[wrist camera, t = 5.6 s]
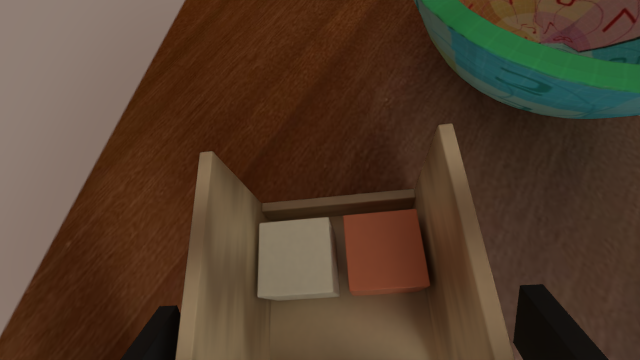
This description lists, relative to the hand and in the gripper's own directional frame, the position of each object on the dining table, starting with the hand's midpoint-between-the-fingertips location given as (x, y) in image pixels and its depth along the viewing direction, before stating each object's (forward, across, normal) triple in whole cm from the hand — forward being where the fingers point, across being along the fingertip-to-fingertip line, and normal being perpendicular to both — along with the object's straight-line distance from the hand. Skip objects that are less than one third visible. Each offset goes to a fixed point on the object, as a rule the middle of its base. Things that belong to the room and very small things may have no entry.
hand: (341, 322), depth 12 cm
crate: (+7, 0, -4) cm, 8 cm away
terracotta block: (+8, +2, -3) cm, 8 cm away
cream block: (+8, -3, -3) cm, 8 cm away
